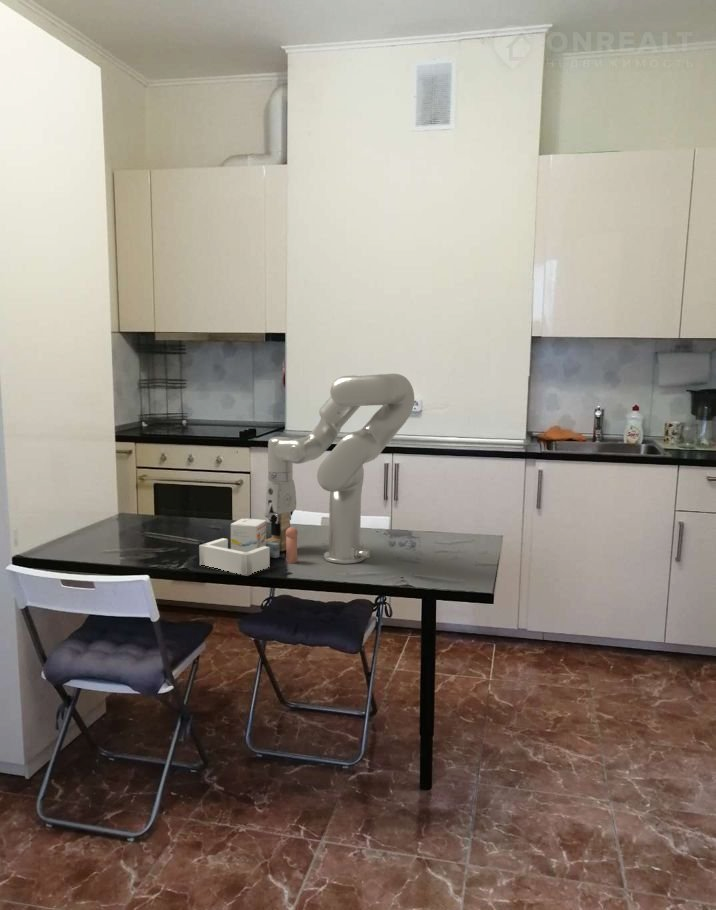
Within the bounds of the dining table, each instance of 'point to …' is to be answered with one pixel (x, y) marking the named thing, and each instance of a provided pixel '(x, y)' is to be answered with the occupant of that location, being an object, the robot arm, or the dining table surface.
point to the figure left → (291, 545)
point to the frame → (233, 557)
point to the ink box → (248, 534)
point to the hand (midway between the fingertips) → (280, 533)
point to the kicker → (279, 541)
